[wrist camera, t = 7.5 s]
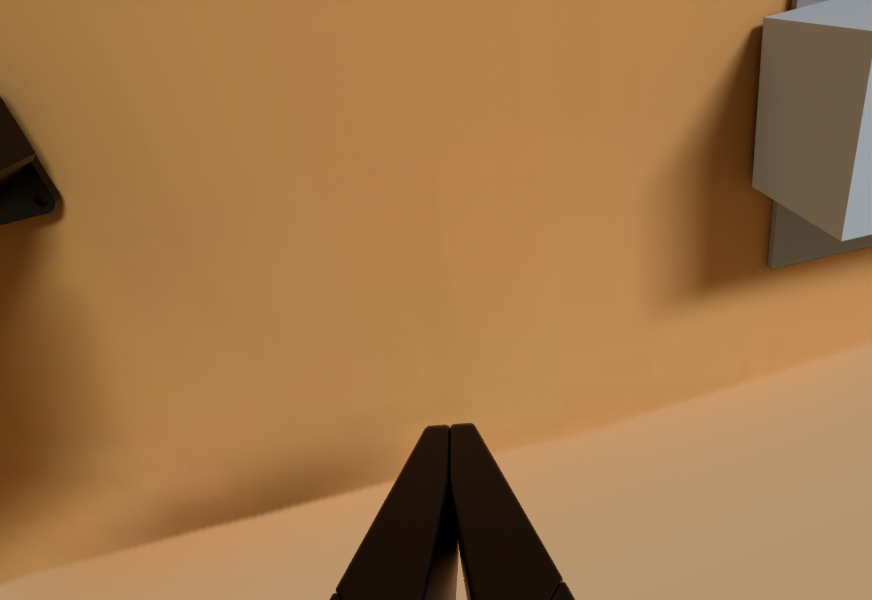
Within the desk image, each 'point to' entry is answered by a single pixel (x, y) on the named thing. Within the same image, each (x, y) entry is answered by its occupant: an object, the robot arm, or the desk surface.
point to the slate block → (818, 115)
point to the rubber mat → (803, 226)
